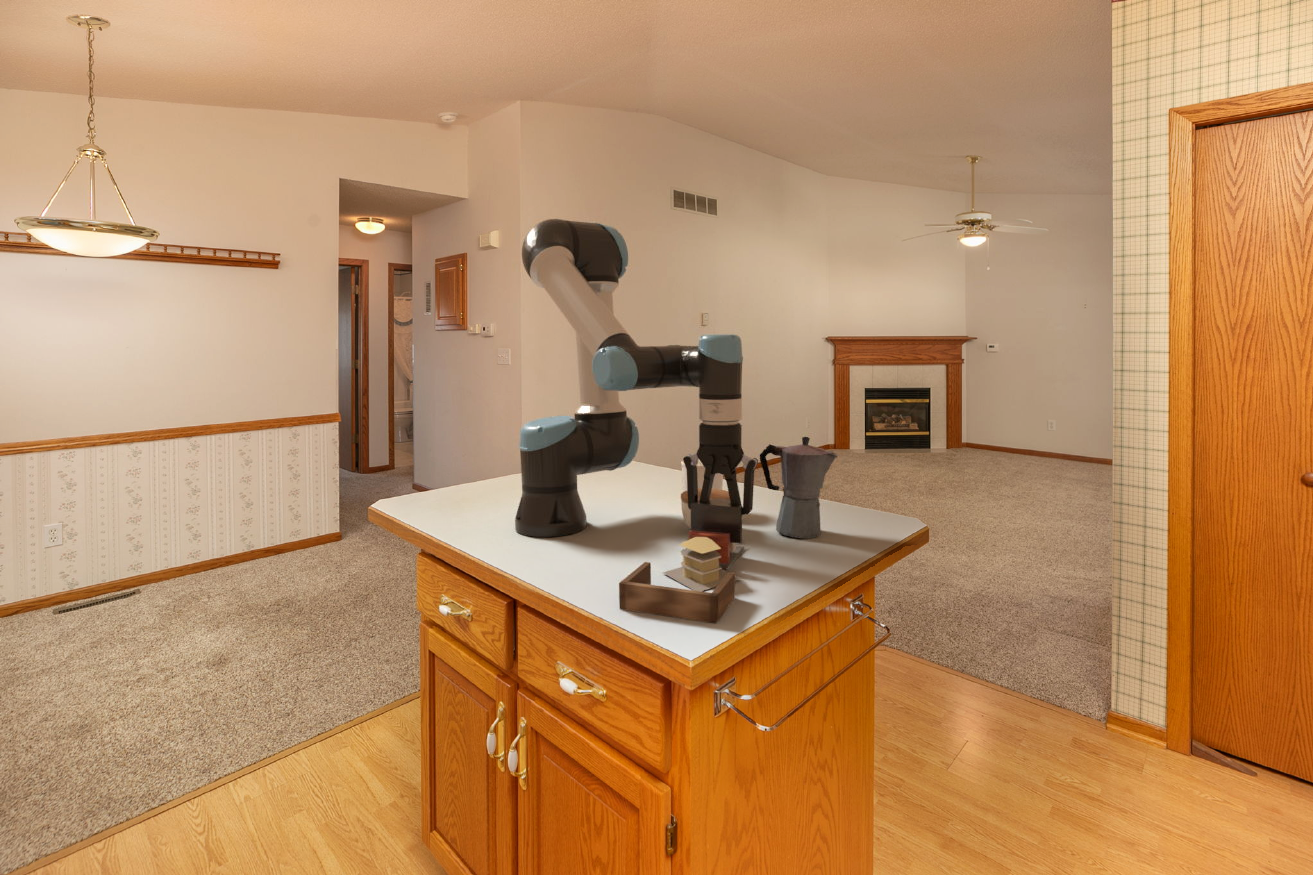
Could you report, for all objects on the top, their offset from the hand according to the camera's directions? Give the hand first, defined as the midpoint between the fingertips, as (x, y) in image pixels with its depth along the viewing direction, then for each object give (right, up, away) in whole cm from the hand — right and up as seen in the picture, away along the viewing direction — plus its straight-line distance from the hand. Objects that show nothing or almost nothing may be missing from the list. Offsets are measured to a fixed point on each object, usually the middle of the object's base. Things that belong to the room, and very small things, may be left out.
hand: (719, 548), depth 121 cm
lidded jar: (-1, +1, +18) cm, 18 cm away
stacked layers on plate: (-4, -3, -10) cm, 11 cm away
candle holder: (-1, +3, +31) cm, 32 cm away
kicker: (-1, 0, -2) cm, 3 cm away
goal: (-8, -5, -21) cm, 23 cm away
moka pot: (+17, 0, +15) cm, 23 cm away
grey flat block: (0, -2, 0) cm, 2 cm away
